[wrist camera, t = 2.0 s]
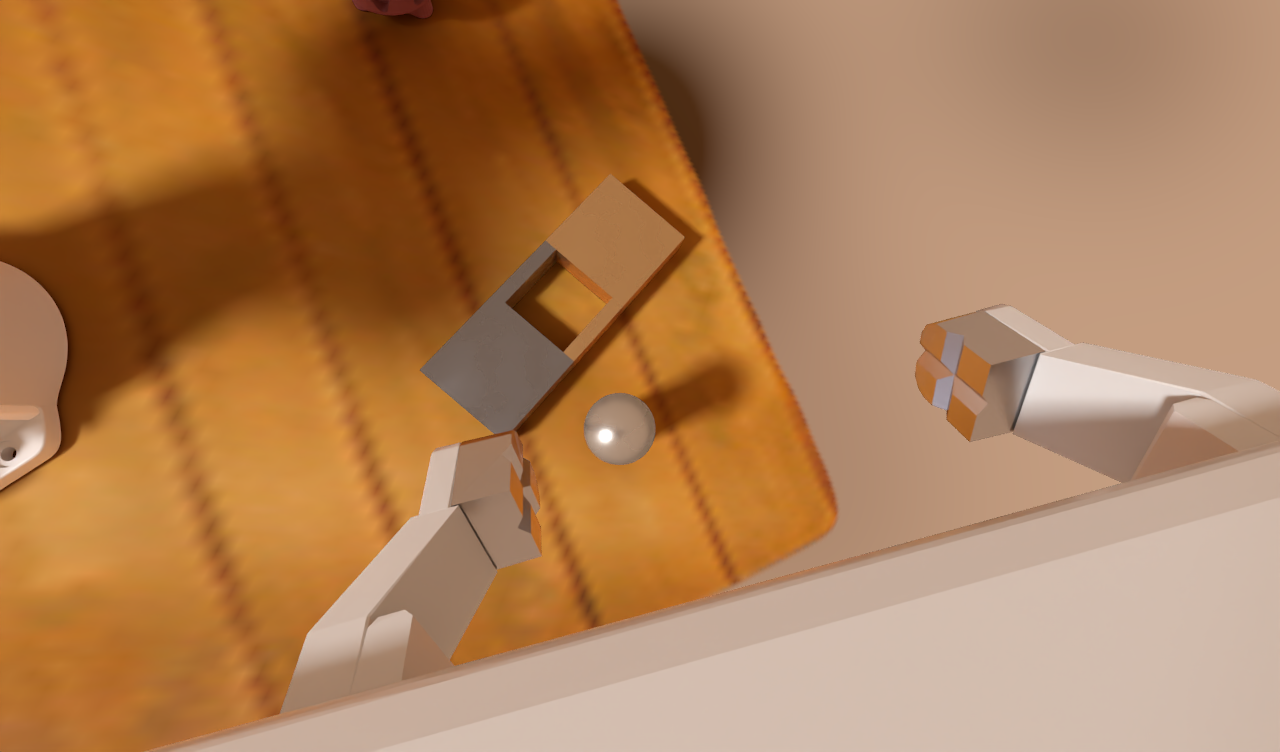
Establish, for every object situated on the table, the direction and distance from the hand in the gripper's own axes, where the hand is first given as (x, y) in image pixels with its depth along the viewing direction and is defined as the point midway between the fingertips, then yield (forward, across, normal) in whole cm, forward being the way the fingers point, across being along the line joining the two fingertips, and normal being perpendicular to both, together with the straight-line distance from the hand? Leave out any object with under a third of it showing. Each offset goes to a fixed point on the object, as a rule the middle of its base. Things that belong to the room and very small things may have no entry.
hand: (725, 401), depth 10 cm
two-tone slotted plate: (+28, +5, +12) cm, 31 cm away
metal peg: (+22, +4, +20) cm, 29 cm away
